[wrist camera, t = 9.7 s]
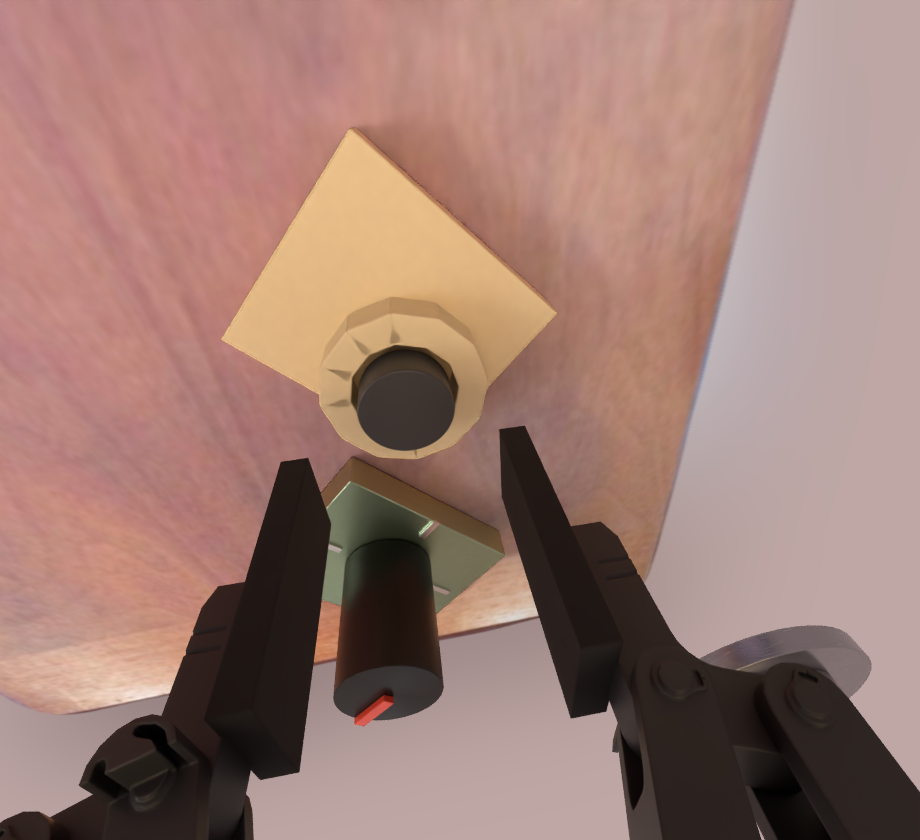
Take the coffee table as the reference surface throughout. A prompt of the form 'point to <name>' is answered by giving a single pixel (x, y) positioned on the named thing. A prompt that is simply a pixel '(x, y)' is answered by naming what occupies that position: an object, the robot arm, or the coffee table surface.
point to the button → (405, 400)
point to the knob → (387, 634)
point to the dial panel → (403, 530)
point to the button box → (384, 295)
